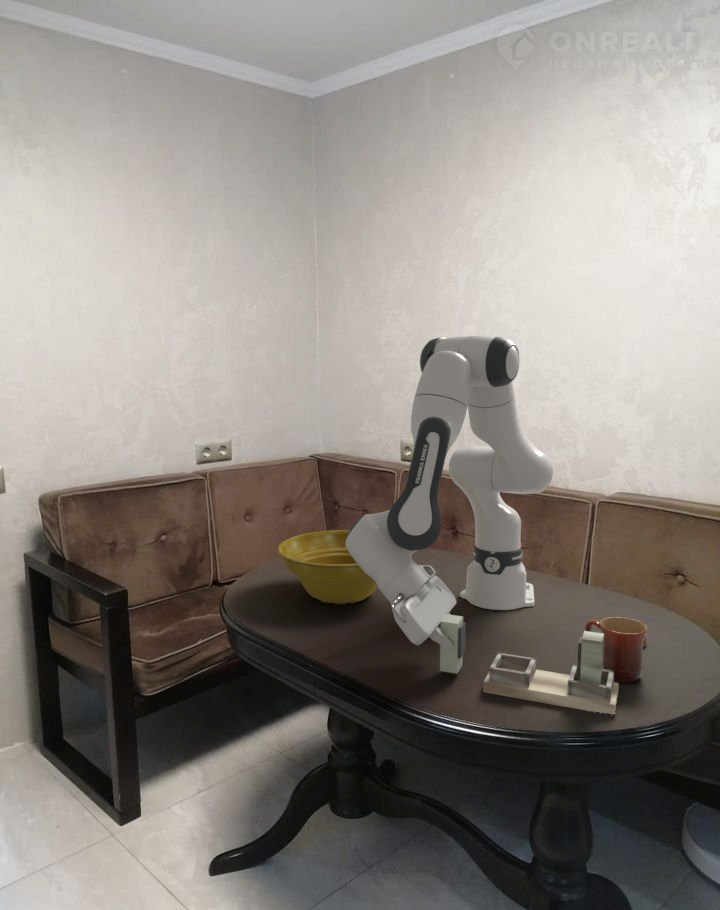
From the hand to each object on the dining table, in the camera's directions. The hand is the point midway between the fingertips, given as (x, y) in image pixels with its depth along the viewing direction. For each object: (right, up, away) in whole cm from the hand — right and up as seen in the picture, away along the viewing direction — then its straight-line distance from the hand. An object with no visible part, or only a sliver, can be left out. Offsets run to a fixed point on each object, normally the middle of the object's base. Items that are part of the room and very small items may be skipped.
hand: (454, 641), depth 140 cm
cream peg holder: (+17, -8, -6) cm, 20 cm away
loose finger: (0, -5, +1) cm, 5 cm away
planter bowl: (-23, 0, +47) cm, 53 cm away
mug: (+31, -7, +2) cm, 32 cm away
